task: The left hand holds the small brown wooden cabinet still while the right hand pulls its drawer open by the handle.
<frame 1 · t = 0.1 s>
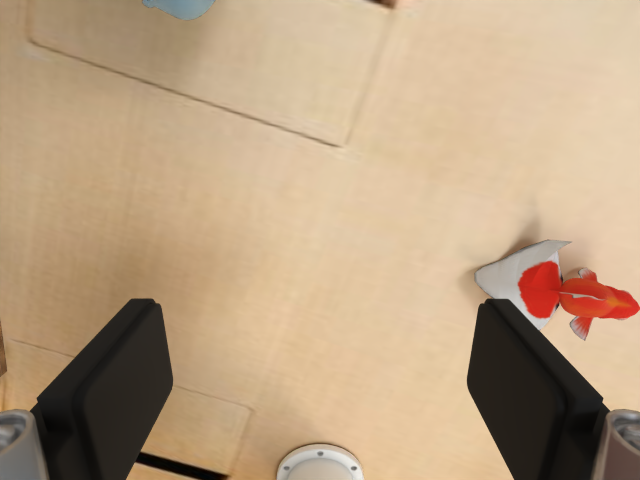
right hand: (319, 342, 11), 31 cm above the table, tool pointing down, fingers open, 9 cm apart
fish: (531, 277, 45), on the table
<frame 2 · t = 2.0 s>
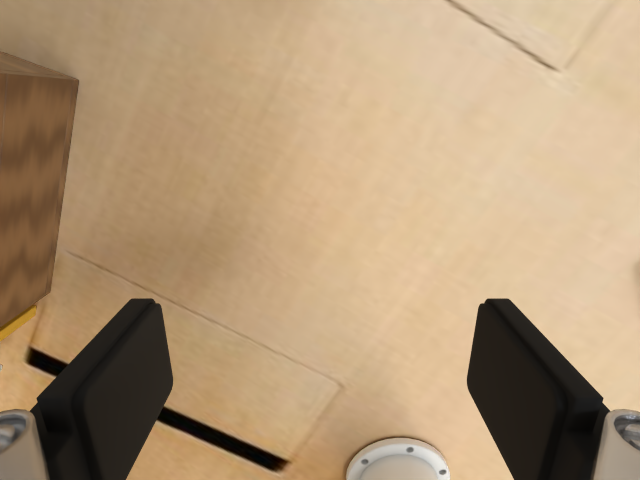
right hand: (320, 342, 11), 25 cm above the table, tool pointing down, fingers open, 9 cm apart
cabinet: (4, 177, 35), on the table
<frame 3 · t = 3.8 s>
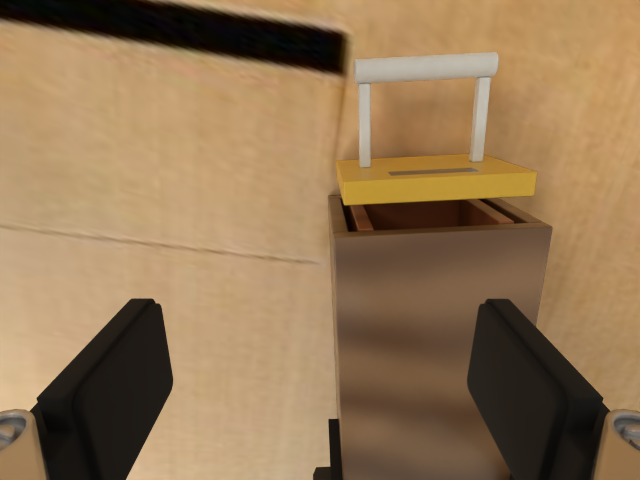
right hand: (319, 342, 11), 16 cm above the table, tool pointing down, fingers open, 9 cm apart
drawer: (416, 281, 24), point 4 cm above the table, slide at 1.3 cm
cabinet: (400, 323, 30), on the table, touching left hand
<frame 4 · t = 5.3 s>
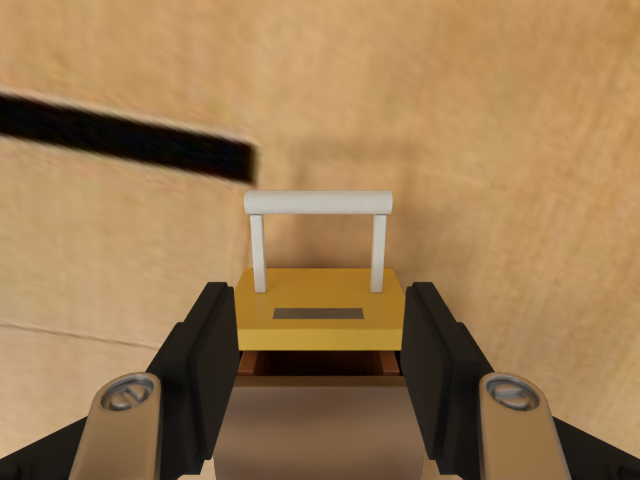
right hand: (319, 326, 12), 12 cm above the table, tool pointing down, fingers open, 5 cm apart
drawer: (318, 400, 23), point 4 cm above the table, slide at 1.3 cm
cabinet: (318, 419, 29), on the table, touching left hand
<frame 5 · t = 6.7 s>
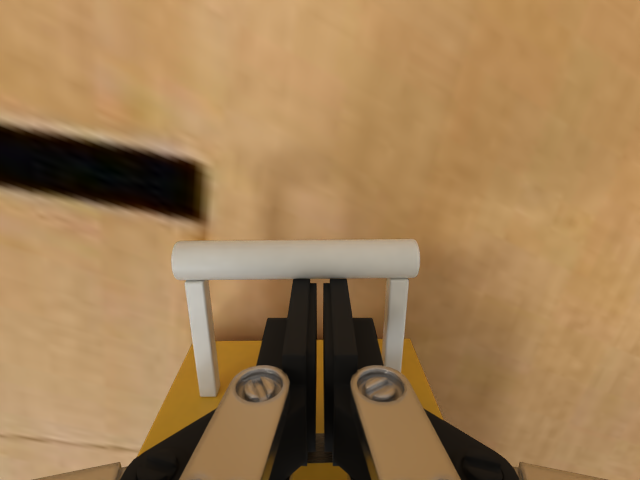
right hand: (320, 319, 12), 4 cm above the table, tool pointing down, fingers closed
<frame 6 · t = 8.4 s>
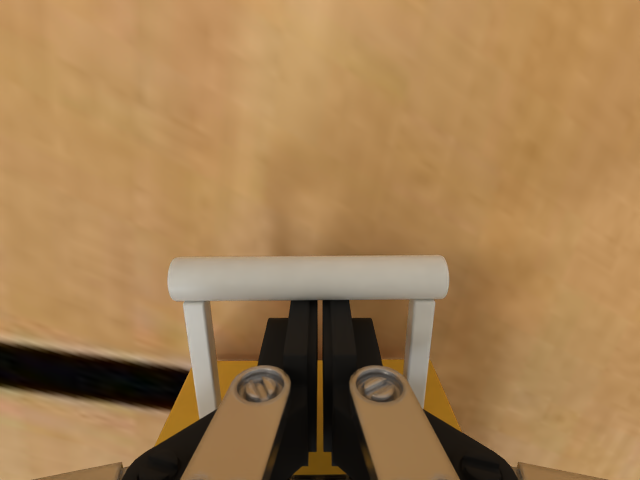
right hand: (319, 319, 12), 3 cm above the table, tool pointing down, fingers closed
when the left hand's fingers open (4 cm above the table, at t = 10.0 s): cabinet stays where it is, on the table.
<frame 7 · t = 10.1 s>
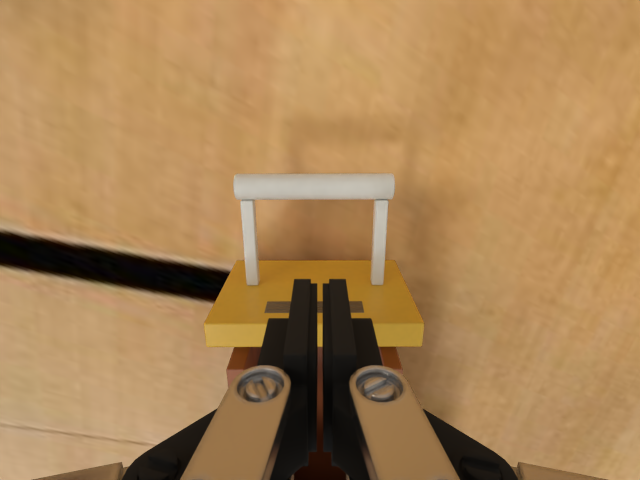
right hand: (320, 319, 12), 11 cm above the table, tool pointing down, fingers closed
drawer: (315, 400, 22), point 4 cm above the table, slide at 10.2 cm
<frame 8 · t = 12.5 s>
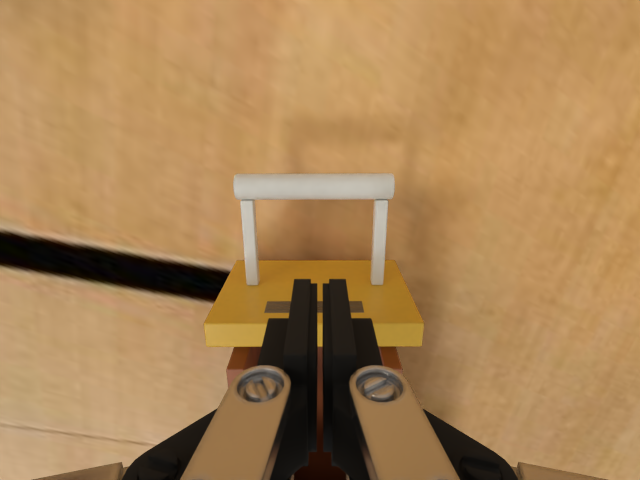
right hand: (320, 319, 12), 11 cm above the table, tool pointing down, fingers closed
drawer: (315, 400, 22), point 4 cm above the table, slide at 10.2 cm
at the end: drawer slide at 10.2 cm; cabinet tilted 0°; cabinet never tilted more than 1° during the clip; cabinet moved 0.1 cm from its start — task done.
